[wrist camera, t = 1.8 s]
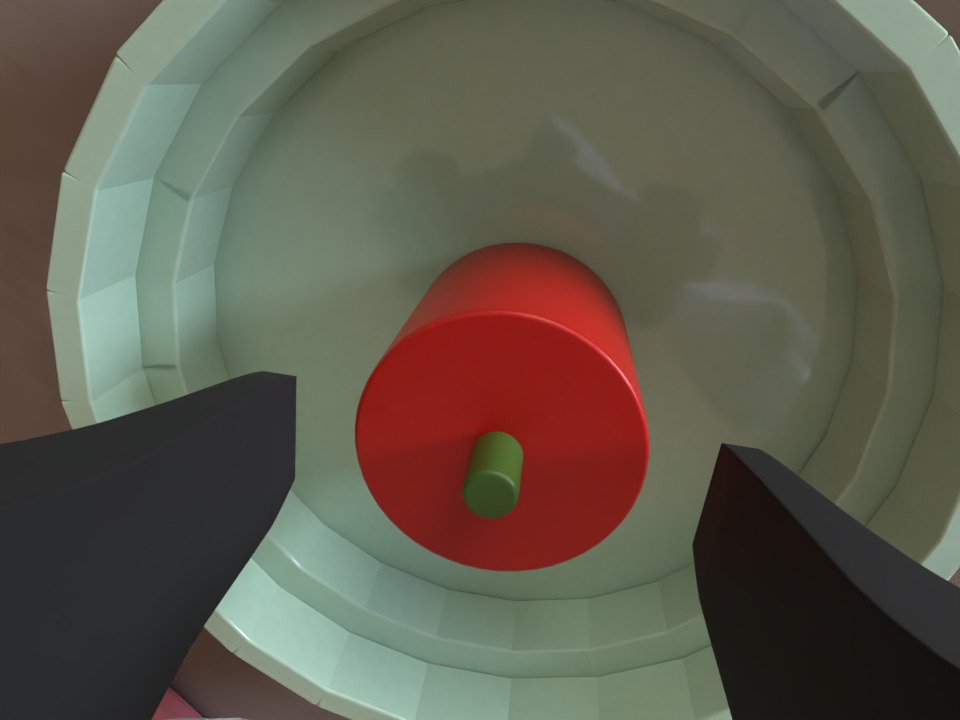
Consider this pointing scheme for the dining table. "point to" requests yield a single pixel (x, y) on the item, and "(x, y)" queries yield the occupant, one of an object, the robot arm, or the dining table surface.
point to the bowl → (543, 221)
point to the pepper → (507, 413)
